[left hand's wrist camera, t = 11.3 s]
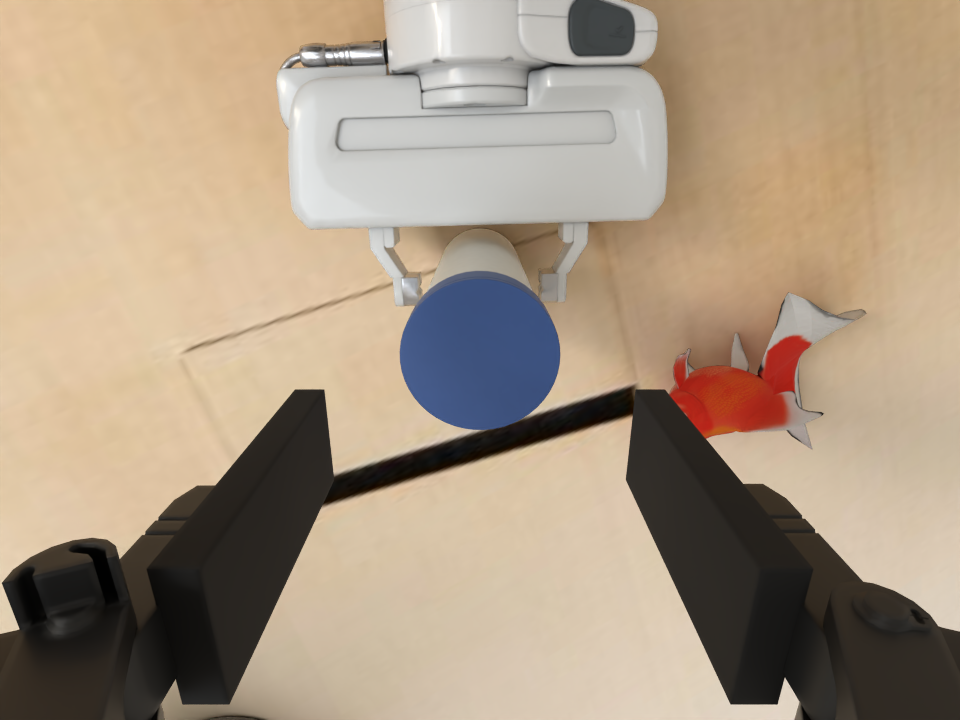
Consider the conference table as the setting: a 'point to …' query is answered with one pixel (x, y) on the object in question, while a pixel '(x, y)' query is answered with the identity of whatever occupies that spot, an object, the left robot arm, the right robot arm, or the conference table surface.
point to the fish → (758, 378)
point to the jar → (480, 256)
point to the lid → (480, 350)
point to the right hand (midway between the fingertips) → (480, 302)
